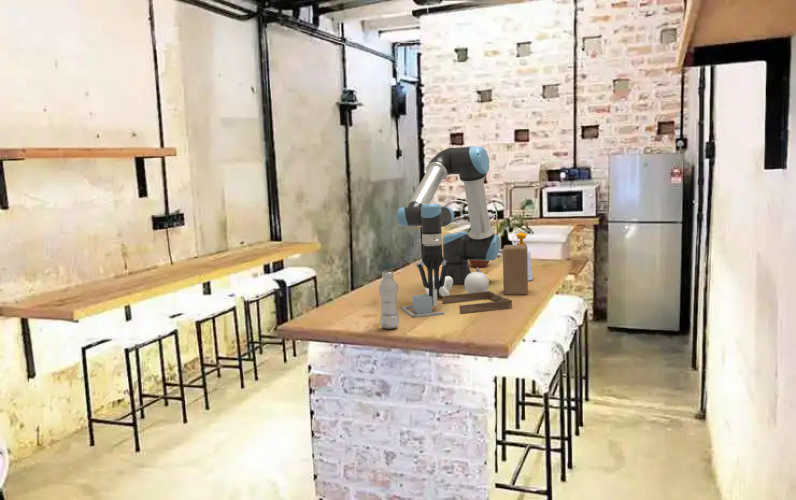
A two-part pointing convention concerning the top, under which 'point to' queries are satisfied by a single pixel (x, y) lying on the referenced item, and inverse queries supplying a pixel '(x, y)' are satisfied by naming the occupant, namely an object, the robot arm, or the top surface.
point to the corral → (419, 314)
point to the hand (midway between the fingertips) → (434, 305)
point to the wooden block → (515, 270)
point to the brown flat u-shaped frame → (497, 305)
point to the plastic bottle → (388, 301)
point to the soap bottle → (521, 237)
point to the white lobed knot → (446, 288)
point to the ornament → (476, 282)
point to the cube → (422, 304)
